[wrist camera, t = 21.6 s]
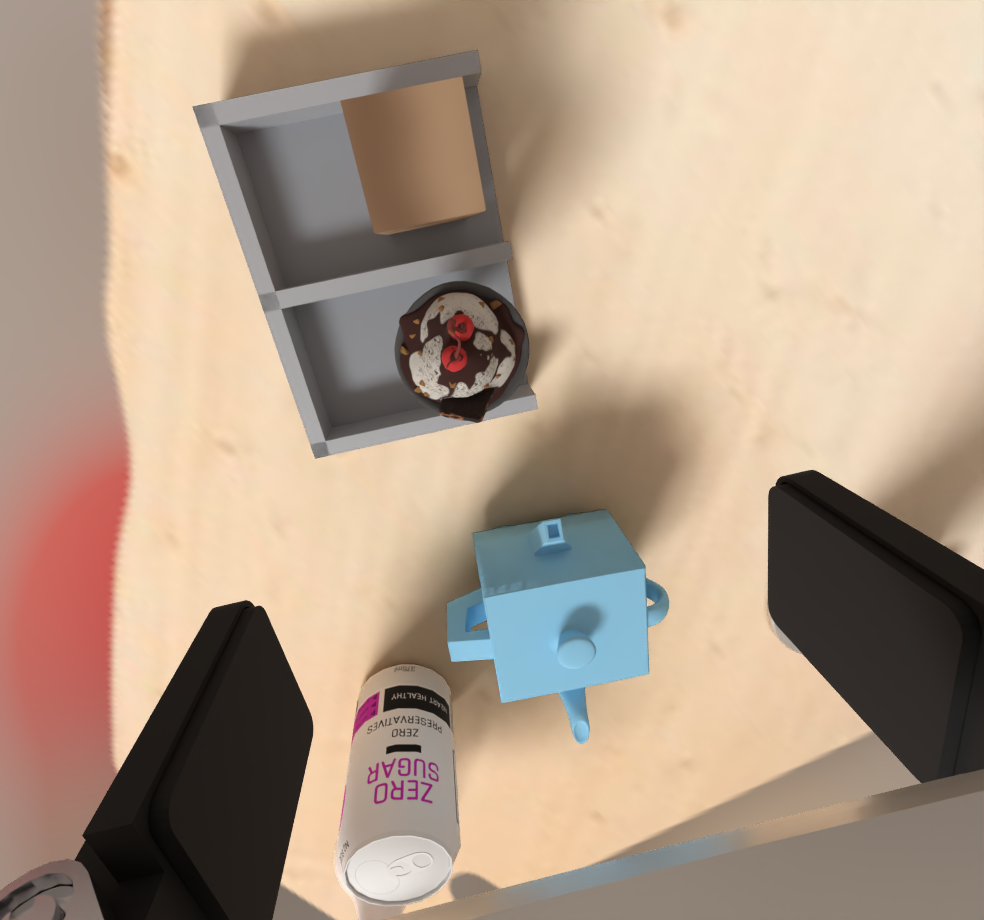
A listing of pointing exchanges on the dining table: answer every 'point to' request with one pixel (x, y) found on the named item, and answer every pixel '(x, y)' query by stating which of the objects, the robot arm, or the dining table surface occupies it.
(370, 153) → the walnut block
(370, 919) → the flower vase
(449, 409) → the sundae
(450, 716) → the soda can
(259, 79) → the dining table surface
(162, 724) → the robot arm
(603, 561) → the teapot
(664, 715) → the dining table surface
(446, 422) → the grey divided tray
